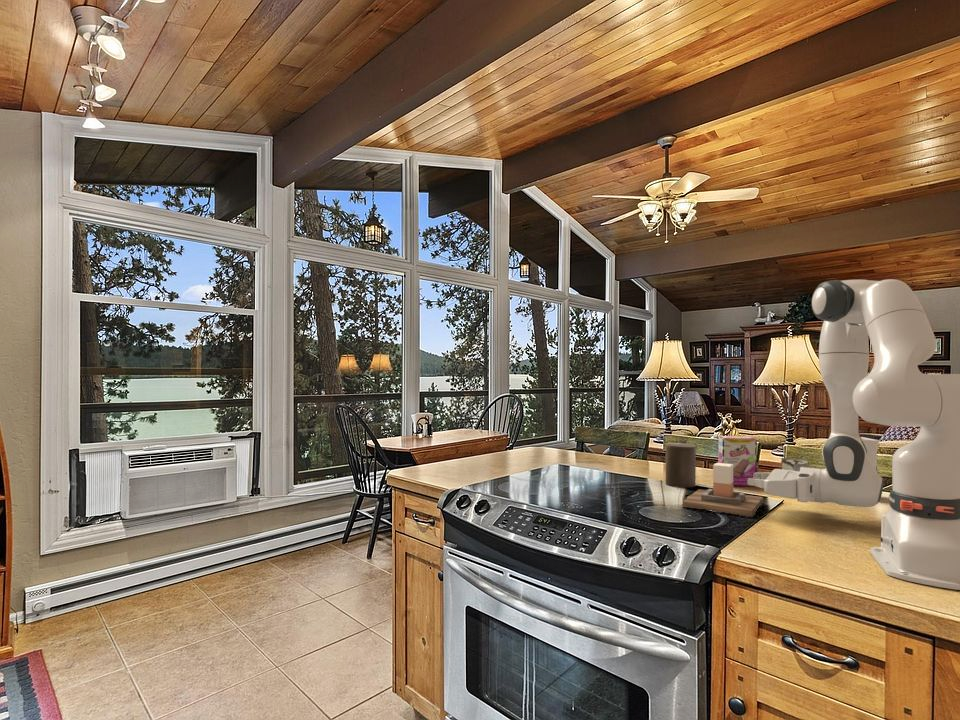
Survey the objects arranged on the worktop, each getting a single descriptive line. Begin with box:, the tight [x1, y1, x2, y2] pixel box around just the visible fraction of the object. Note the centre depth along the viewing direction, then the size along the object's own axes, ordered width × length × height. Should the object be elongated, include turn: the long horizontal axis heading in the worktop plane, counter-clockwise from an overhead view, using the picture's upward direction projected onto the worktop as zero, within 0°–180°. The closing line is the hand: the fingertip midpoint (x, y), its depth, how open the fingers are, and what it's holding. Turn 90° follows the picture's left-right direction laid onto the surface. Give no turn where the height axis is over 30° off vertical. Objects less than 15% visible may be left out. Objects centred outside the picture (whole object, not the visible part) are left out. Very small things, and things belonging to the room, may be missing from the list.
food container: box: [780, 457, 811, 472], centre depth 174 cm, size 12×6×10 cm, turn 168°
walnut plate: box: [682, 488, 764, 516], centre depth 157 cm, size 18×18×4 cm
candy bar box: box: [717, 435, 757, 487], centre depth 185 cm, size 11×5×16 cm, turn 84°
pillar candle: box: [665, 441, 697, 488], centre depth 186 cm, size 10×10×15 cm
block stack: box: [712, 462, 734, 498], centre depth 157 cm, size 4×4×10 cm
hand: (750, 478), depth 153 cm, fingers open, 8 cm apart
